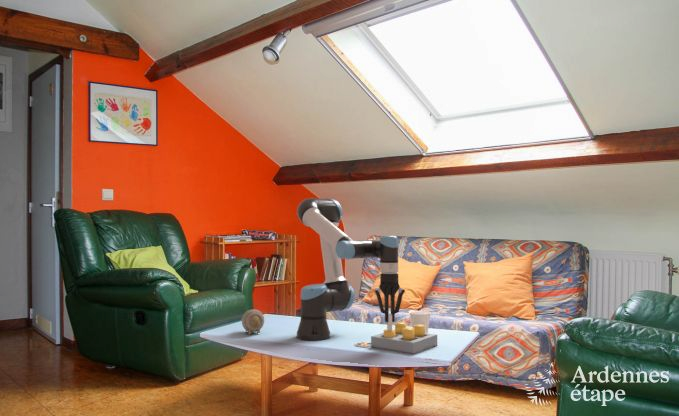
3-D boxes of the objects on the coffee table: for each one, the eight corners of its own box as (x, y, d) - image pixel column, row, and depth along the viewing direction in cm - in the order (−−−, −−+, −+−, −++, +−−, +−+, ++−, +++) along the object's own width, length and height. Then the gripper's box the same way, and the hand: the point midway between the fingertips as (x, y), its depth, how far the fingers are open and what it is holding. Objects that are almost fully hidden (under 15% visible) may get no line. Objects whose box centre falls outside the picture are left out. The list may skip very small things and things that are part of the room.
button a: (381, 342, 216) (381, 330, 216) (387, 340, 219) (387, 329, 220) (391, 344, 213) (391, 332, 213) (397, 342, 216) (397, 330, 217)
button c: (392, 335, 223) (392, 323, 223) (398, 333, 227) (398, 321, 227) (402, 336, 220) (402, 324, 220) (408, 334, 224) (408, 323, 224)
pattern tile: (354, 345, 218) (354, 343, 218) (362, 343, 222) (362, 341, 222) (366, 347, 214) (366, 345, 214) (374, 345, 219) (374, 343, 219)
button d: (411, 337, 217) (411, 325, 218) (417, 335, 221) (416, 324, 221) (421, 339, 214) (421, 327, 215) (427, 337, 218) (427, 325, 218)
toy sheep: (246, 337, 235) (246, 312, 235) (237, 330, 250) (237, 307, 251) (268, 335, 239) (268, 311, 240) (258, 329, 255) (259, 306, 255)
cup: (416, 333, 243) (416, 310, 243) (435, 336, 237) (435, 312, 237) (405, 337, 235) (405, 312, 236) (424, 340, 229) (424, 314, 229)
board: (371, 347, 215) (371, 336, 215) (396, 339, 231) (396, 329, 231) (413, 354, 203) (413, 342, 203) (437, 345, 219) (437, 334, 219)
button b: (400, 341, 210) (400, 328, 210) (406, 339, 214) (406, 327, 214) (410, 342, 207) (410, 330, 207) (416, 340, 211) (416, 328, 211)
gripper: (375, 273, 213) (376, 332, 212) (406, 273, 214) (407, 331, 213) (372, 272, 220) (372, 328, 219) (402, 272, 222) (402, 327, 221)
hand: (389, 329), depth 216 cm, fingers closed
